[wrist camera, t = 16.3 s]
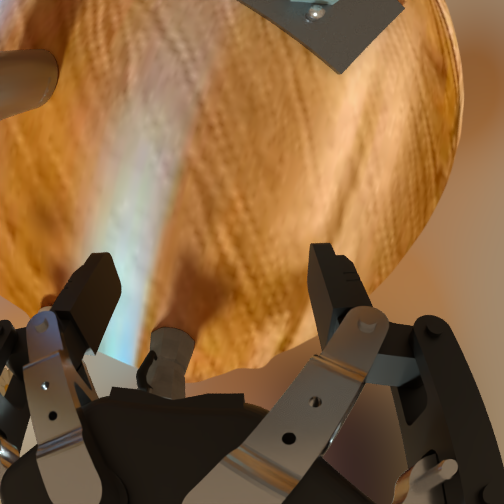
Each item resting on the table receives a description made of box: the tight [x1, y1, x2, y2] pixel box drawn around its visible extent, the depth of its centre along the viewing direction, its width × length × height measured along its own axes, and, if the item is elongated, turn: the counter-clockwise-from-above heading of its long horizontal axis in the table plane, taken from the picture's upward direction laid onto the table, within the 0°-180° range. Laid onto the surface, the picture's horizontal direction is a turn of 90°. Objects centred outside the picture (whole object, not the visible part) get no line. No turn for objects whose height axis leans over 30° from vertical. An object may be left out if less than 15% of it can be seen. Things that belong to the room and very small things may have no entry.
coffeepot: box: [136, 327, 195, 400], centre depth 48 cm, size 15×9×18 cm, turn 8°
